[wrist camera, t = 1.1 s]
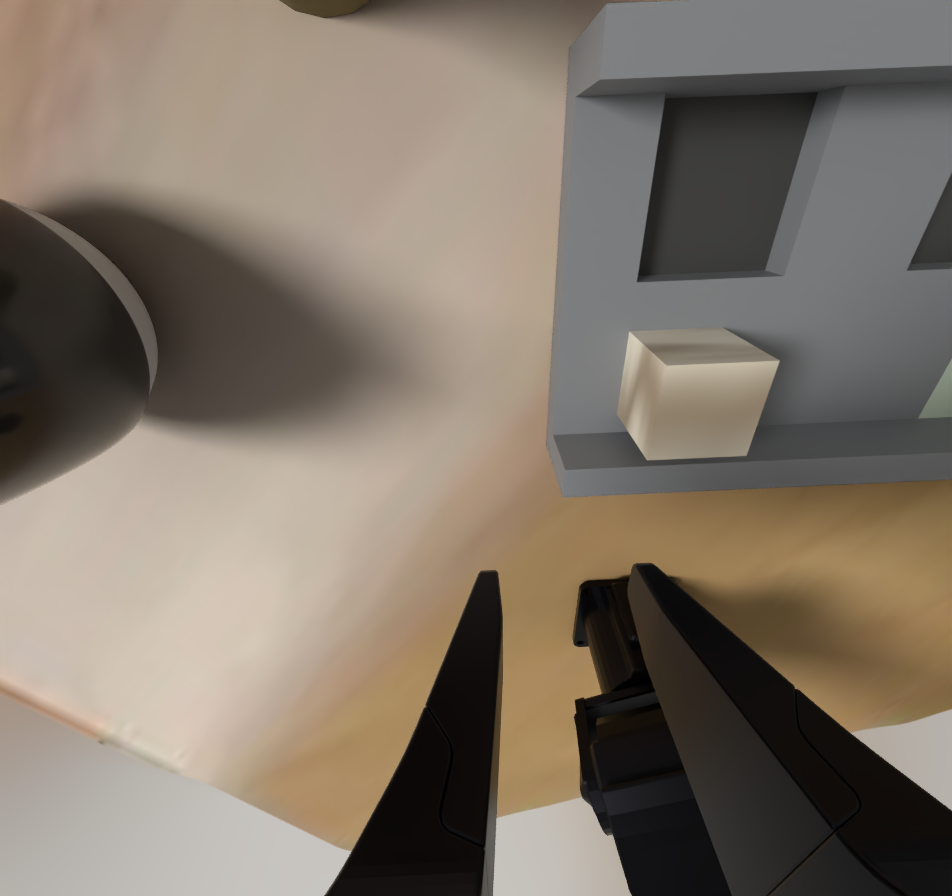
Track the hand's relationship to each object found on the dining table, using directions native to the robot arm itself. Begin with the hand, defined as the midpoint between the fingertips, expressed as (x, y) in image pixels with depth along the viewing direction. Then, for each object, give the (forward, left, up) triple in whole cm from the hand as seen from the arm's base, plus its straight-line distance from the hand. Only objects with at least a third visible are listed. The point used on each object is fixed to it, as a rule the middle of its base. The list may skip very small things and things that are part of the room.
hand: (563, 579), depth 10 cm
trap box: (+4, -15, -13) cm, 20 cm away
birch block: (0, -7, -12) cm, 13 cm away
